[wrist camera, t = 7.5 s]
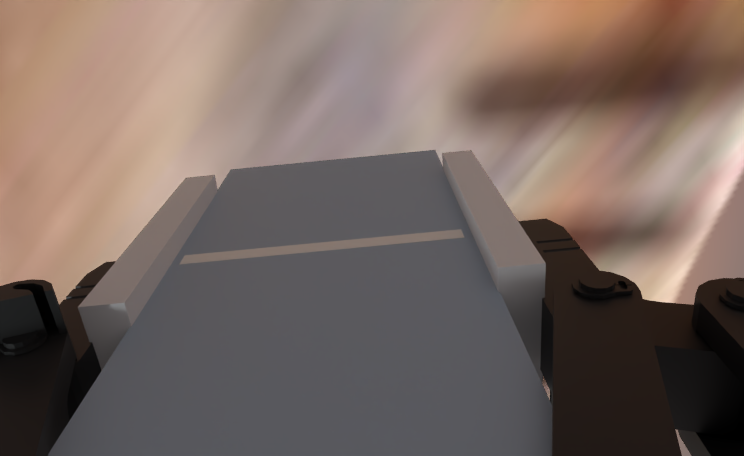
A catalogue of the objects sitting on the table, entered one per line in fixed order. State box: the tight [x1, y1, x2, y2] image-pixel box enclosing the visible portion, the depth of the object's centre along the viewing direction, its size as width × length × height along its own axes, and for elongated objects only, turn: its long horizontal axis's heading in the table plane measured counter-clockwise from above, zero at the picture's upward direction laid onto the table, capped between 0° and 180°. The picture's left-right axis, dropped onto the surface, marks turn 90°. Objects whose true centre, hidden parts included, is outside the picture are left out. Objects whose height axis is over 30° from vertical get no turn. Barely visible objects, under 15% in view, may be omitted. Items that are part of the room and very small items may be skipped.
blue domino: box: [48, 150, 552, 456], centre depth 12 cm, size 2×6×12 cm, turn 95°
